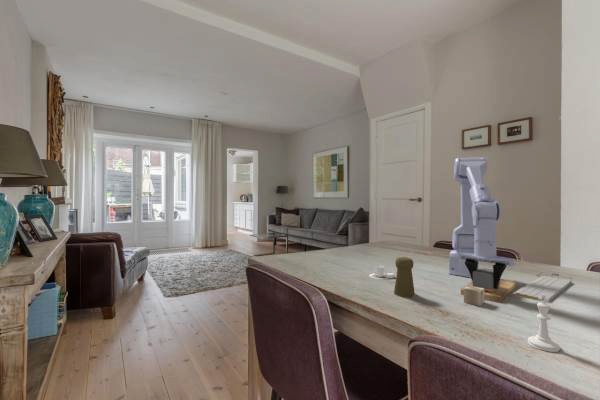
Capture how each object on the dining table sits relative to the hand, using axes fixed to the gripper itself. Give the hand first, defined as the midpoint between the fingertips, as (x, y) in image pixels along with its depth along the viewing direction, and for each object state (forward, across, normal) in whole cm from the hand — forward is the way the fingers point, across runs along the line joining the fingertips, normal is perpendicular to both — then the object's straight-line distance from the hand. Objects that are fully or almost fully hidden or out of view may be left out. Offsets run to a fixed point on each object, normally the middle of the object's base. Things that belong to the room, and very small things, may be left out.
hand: (485, 286), depth 89 cm
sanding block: (+1, 0, +1) cm, 1 cm away
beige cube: (0, 0, -8) cm, 8 cm away
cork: (+3, -17, -18) cm, 25 cm away
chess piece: (+3, +17, -28) cm, 32 cm away
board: (+2, 0, +6) cm, 6 cm away
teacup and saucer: (+3, -31, -7) cm, 32 cm away
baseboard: (+3, +11, +20) cm, 23 cm away
